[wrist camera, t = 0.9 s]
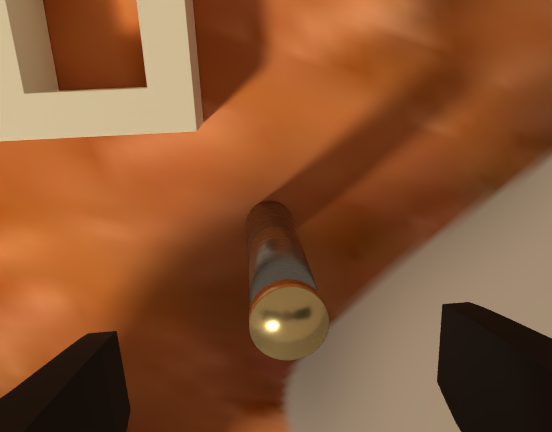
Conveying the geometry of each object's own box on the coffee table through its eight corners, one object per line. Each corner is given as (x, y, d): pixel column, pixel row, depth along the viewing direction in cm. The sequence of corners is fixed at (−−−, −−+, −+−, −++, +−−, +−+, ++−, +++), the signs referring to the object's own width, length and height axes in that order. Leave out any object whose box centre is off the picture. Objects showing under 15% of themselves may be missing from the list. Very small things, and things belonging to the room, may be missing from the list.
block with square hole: (203, 122, 18) (196, 131, 16) (27, 131, 18) (-13, 141, 15) (186, -74, 16) (174, -105, 13) (-14, -69, 16) (-69, -101, 13)
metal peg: (293, 243, 20) (329, 356, 12) (247, 246, 20) (251, 363, 12) (292, 198, 20) (329, 286, 12) (244, 201, 20) (246, 292, 11)
